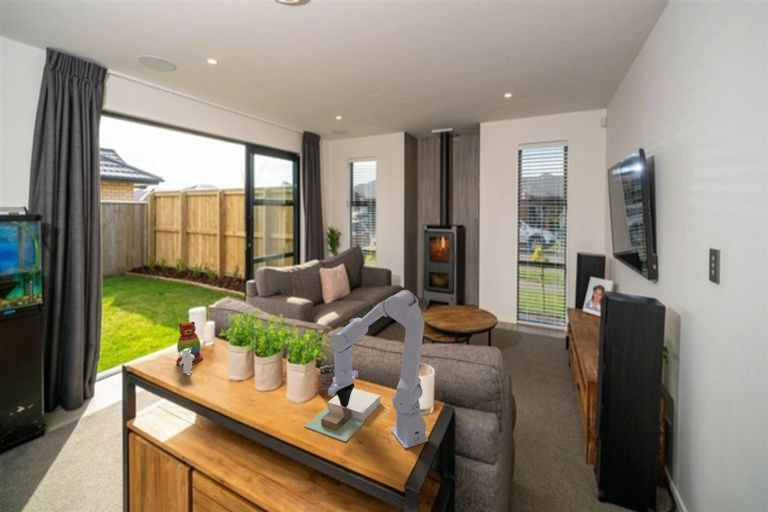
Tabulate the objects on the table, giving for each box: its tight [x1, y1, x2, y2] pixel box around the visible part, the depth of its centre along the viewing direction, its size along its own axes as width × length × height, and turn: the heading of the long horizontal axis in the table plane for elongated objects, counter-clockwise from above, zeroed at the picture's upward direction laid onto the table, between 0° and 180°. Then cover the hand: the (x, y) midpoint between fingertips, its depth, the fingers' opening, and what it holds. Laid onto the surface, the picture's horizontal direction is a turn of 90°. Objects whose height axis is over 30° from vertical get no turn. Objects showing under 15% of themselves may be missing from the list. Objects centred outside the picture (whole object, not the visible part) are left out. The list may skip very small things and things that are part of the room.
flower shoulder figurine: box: [177, 348, 195, 374], centre depth 145 cm, size 9×4×12 cm, turn 61°
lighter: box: [316, 364, 335, 394], centre depth 130 cm, size 8×3×10 cm, turn 105°
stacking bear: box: [176, 321, 204, 365], centre depth 159 cm, size 11×10×18 cm
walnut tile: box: [321, 406, 351, 431], centre depth 110 cm, size 8×6×2 cm
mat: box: [303, 408, 366, 443], centre depth 110 cm, size 11×16×1 cm
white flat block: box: [327, 387, 381, 421], centre depth 120 cm, size 12×14×3 cm
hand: (344, 405), depth 114 cm, fingers closed
